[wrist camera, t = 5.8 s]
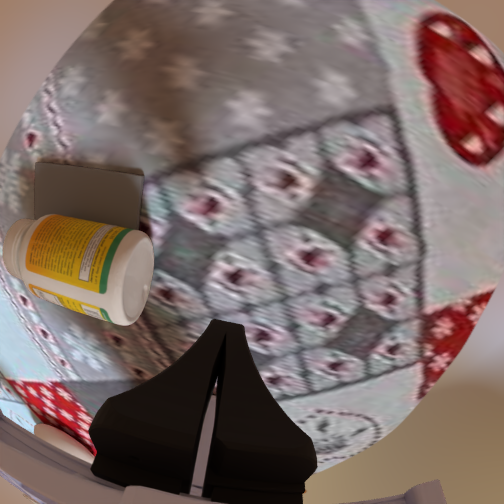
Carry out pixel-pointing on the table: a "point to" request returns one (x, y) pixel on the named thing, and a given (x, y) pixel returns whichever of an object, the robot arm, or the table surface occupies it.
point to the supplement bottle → (82, 265)
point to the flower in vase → (61, 444)
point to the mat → (88, 194)
